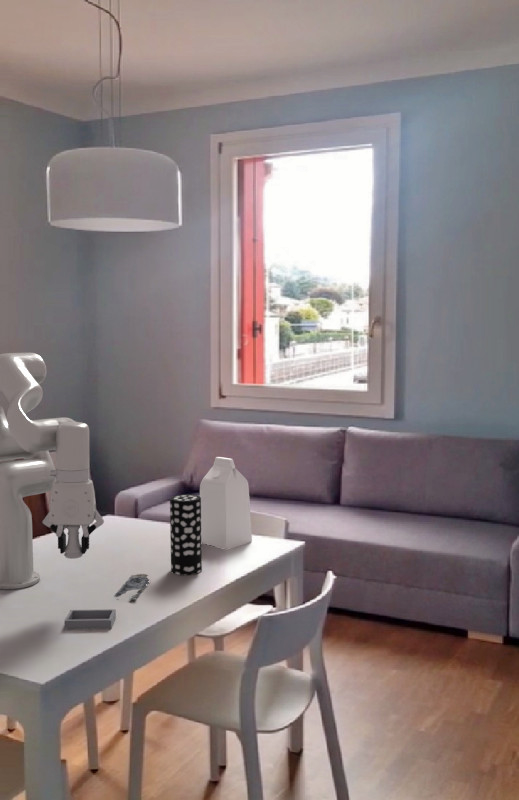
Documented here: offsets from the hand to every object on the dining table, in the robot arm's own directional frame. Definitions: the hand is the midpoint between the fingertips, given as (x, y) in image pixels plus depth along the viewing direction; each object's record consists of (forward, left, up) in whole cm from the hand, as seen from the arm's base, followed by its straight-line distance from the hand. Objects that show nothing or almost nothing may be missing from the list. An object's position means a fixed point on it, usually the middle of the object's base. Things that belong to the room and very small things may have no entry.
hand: (73, 551), depth 190 cm
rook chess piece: (0, 0, -1) cm, 1 cm away
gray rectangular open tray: (+6, -11, -14) cm, 18 cm away
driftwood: (+12, +14, -15) cm, 23 cm away
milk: (+35, +55, -14) cm, 67 cm away
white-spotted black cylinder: (+25, +27, -14) cm, 39 cm away
